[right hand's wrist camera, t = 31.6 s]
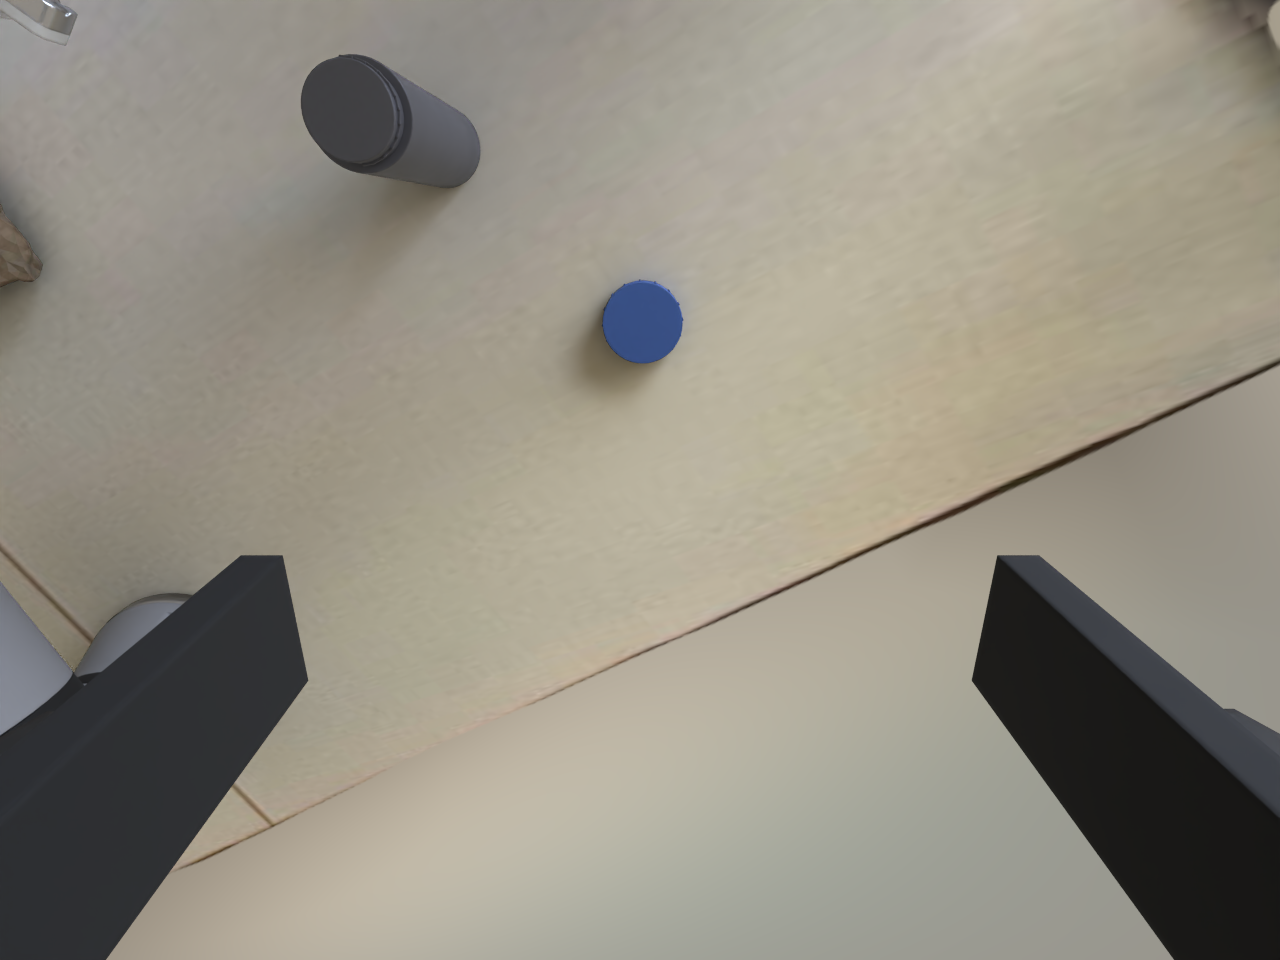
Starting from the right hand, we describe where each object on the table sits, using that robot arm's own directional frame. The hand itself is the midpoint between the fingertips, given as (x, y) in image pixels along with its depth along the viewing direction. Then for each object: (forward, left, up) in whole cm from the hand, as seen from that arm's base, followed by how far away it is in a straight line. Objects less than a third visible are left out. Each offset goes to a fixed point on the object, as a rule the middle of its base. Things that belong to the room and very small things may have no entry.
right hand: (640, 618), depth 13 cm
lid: (0, 0, -39) cm, 39 cm away
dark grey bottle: (-9, +16, -41) cm, 44 cm away
